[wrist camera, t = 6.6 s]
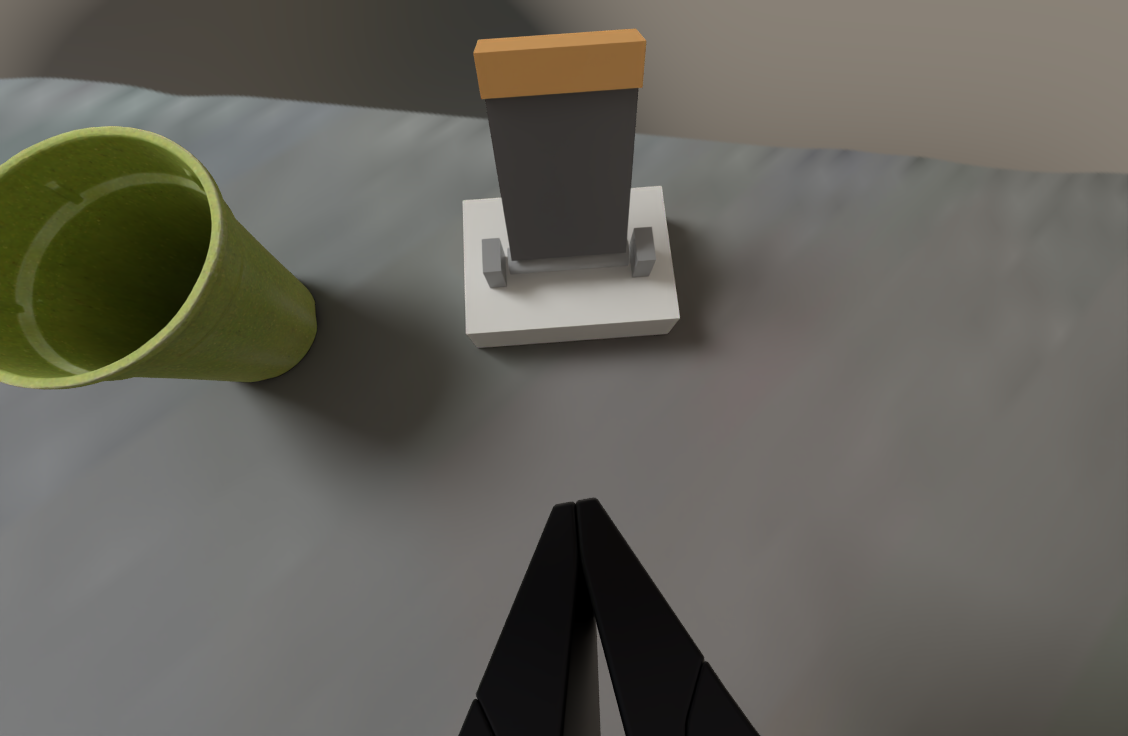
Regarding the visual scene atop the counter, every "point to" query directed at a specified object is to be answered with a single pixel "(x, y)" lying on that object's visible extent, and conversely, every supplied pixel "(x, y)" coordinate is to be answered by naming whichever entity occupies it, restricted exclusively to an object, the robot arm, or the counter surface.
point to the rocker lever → (563, 144)
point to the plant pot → (135, 270)
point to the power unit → (568, 284)
